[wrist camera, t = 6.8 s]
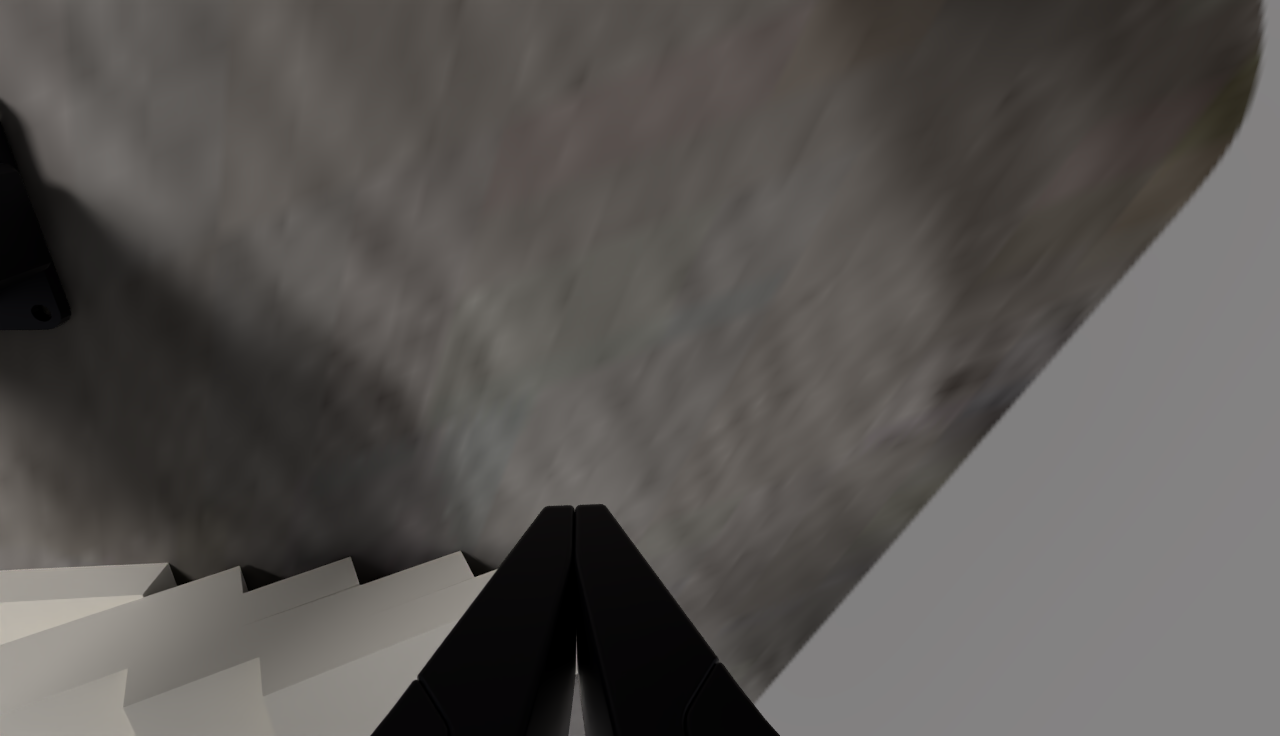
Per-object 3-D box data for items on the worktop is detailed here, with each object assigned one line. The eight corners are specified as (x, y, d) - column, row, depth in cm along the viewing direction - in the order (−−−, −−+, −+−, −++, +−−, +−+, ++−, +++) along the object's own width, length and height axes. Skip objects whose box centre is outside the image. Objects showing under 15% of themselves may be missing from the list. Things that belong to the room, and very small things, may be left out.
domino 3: (373, 654, 26) (49, 790, 21) (350, 555, 24) (-17, 682, 19) (382, 684, 24) (40, 836, 20) (359, 583, 22) (-31, 726, 17)
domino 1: (207, 660, 25) (-73, 678, 24) (169, 561, 23) (-138, 577, 22) (184, 697, 24) (-115, 718, 23) (142, 594, 22) (-189, 612, 21)
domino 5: (565, 641, 26) (294, 763, 22) (561, 544, 24) (259, 655, 19) (583, 670, 25) (299, 806, 20) (580, 571, 23) (262, 696, 18)
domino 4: (472, 647, 26) (176, 773, 21) (460, 550, 24) (128, 665, 19) (486, 677, 25) (174, 818, 20) (474, 576, 23) (122, 707, 18)
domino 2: (273, 663, 25) (-82, 807, 20) (239, 565, 23) (-166, 699, 18) (277, 694, 24) (-99, 855, 19) (242, 593, 22) (-191, 745, 17)
